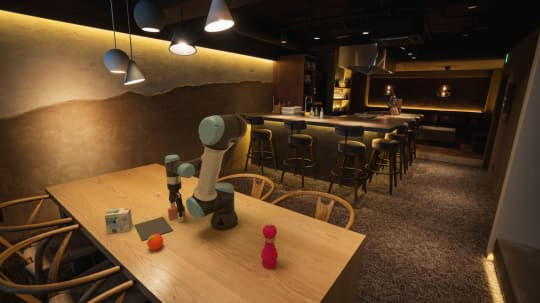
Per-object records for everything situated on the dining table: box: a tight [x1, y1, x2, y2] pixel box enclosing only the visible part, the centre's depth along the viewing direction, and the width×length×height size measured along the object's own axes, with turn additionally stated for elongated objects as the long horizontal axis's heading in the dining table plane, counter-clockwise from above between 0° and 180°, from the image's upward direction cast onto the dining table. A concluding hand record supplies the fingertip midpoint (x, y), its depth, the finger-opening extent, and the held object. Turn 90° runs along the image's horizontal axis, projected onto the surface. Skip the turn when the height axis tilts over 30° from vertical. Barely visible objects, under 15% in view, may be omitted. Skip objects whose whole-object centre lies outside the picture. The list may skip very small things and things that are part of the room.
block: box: [167, 204, 187, 222], centre depth 143 cm, size 2×9×6 cm, turn 129°
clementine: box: [145, 234, 164, 251], centre depth 115 cm, size 8×7×7 cm
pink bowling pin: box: [260, 221, 279, 270], centre depth 104 cm, size 7×7×20 cm
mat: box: [133, 216, 174, 242], centre depth 133 cm, size 18×15×1 cm
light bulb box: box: [104, 207, 134, 235], centre depth 130 cm, size 11×7×11 cm, turn 105°
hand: (177, 217), depth 144 cm, fingers open, 12 cm apart
